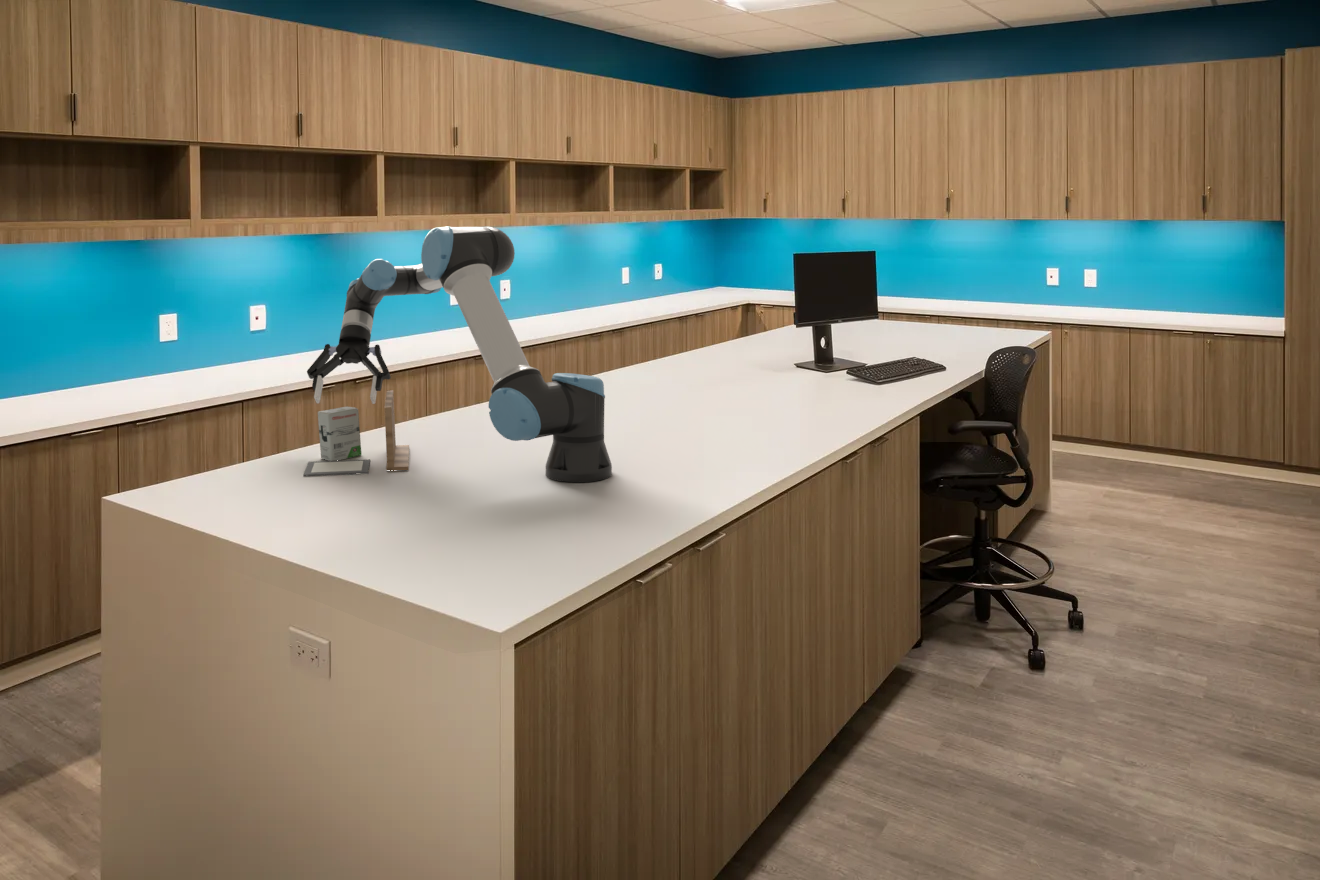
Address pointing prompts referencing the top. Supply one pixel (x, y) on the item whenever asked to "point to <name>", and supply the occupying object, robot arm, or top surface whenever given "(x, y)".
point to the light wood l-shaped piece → (395, 453)
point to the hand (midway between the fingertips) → (344, 400)
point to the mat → (337, 467)
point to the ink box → (339, 433)
